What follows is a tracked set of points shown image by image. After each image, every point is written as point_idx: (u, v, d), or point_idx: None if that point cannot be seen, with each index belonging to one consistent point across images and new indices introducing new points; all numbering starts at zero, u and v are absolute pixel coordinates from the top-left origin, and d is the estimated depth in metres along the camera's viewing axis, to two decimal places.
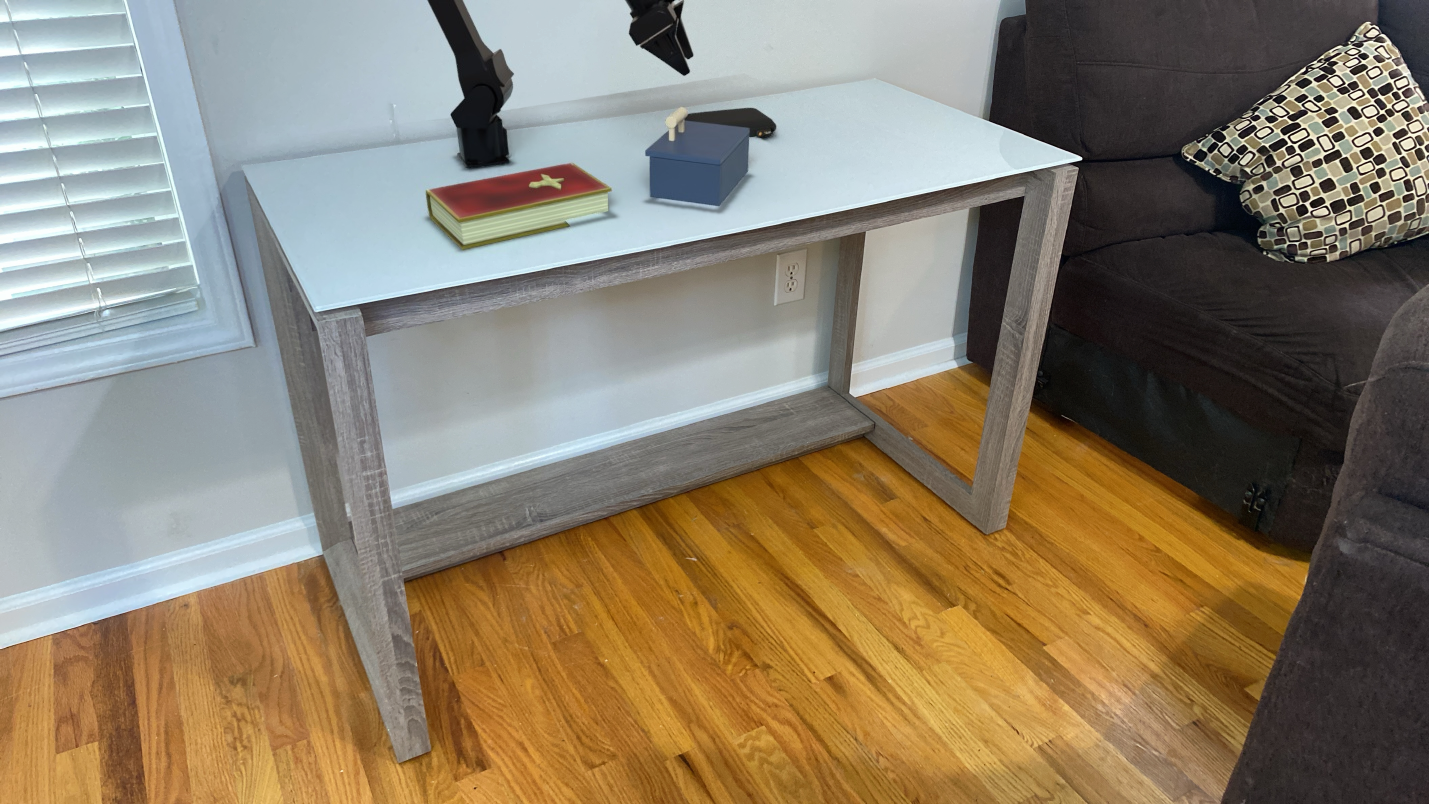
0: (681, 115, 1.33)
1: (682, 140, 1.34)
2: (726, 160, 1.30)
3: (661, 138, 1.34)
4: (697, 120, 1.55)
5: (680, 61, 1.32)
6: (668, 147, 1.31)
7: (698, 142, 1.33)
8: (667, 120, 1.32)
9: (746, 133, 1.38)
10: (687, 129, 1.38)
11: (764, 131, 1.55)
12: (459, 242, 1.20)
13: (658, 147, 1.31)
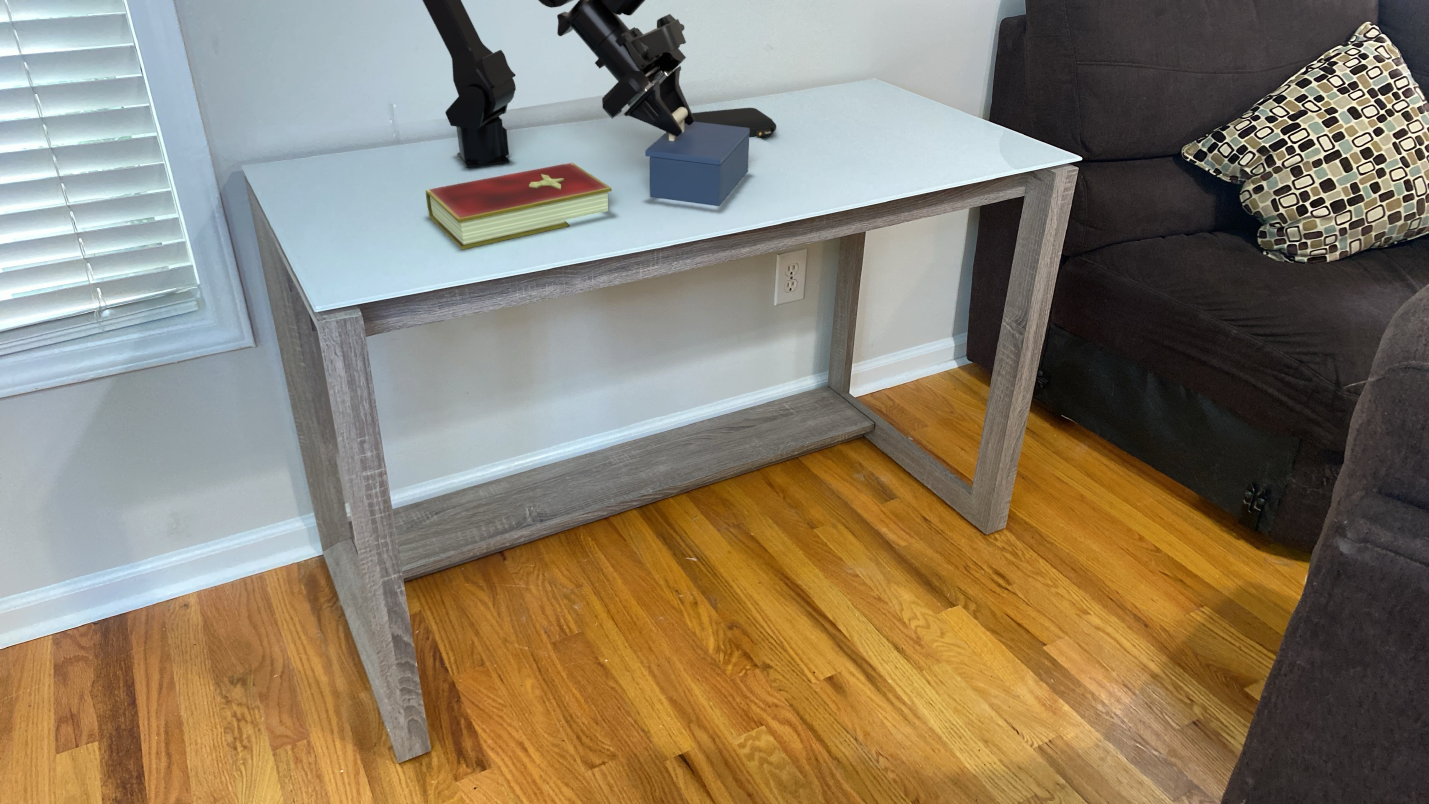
0: (681, 115, 1.33)
1: (682, 140, 1.34)
2: (726, 160, 1.30)
3: (661, 138, 1.34)
4: (697, 120, 1.55)
5: (669, 123, 1.31)
6: (668, 147, 1.31)
7: (698, 142, 1.33)
8: None
9: (746, 133, 1.38)
10: (687, 129, 1.38)
11: (764, 131, 1.55)
12: (459, 242, 1.20)
13: (658, 147, 1.31)
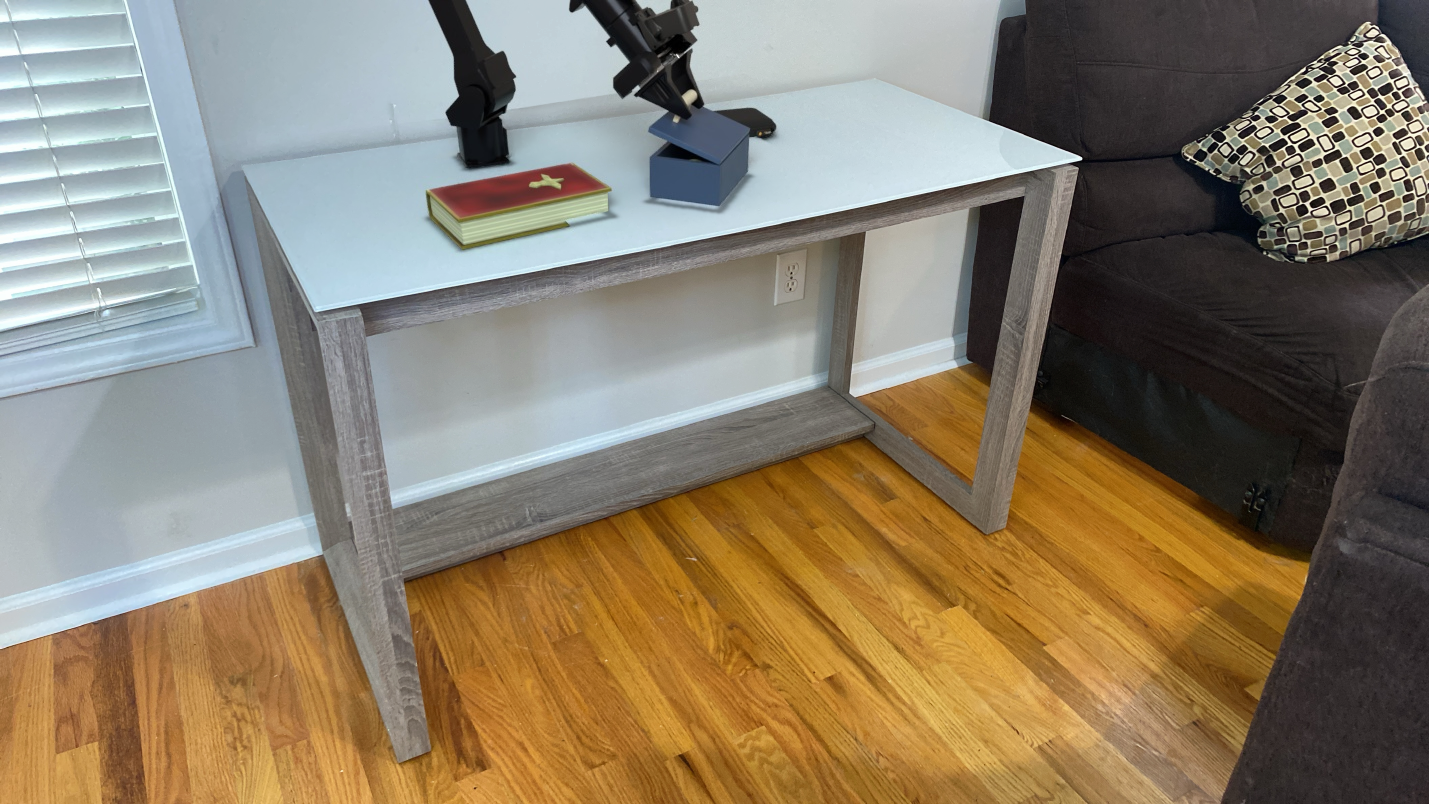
0: (691, 99, 1.32)
1: (685, 124, 1.32)
2: (726, 160, 1.30)
3: (665, 116, 1.32)
4: None
5: (679, 106, 1.29)
6: (671, 129, 1.30)
7: (701, 131, 1.32)
8: None
9: (746, 133, 1.38)
10: (691, 112, 1.36)
11: (764, 131, 1.55)
12: (459, 242, 1.20)
13: (662, 126, 1.29)
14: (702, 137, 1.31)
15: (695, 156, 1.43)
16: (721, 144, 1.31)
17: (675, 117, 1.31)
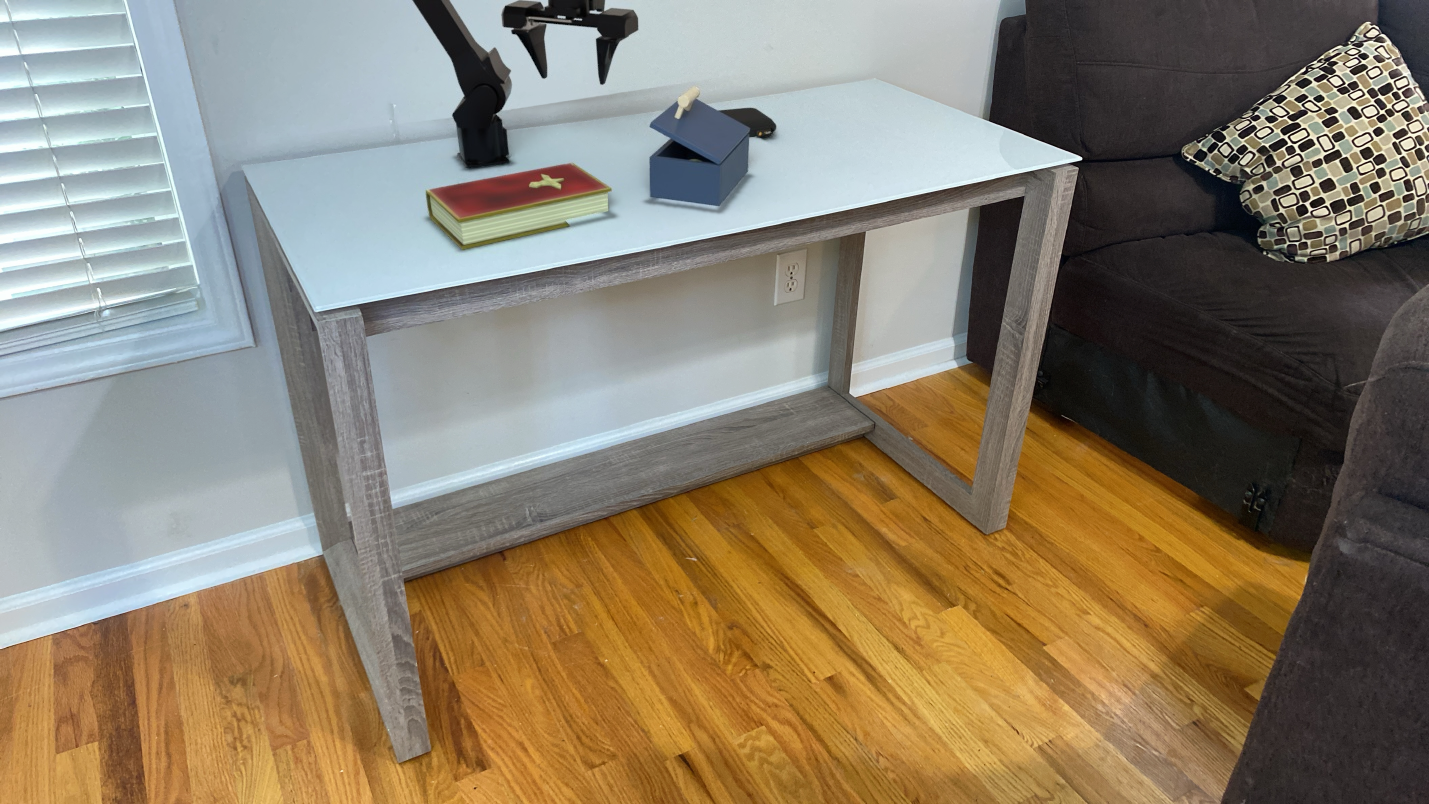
0: (694, 96, 1.31)
1: (687, 121, 1.32)
2: (726, 160, 1.30)
3: (667, 111, 1.32)
4: None
5: (607, 69, 1.38)
6: (673, 125, 1.29)
7: (702, 129, 1.32)
8: (680, 98, 1.30)
9: (746, 133, 1.38)
10: (692, 108, 1.36)
11: (764, 131, 1.55)
12: (459, 242, 1.20)
13: (664, 122, 1.29)
14: (703, 135, 1.31)
15: (695, 156, 1.43)
16: (721, 143, 1.31)
17: (677, 113, 1.31)
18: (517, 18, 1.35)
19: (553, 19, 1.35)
